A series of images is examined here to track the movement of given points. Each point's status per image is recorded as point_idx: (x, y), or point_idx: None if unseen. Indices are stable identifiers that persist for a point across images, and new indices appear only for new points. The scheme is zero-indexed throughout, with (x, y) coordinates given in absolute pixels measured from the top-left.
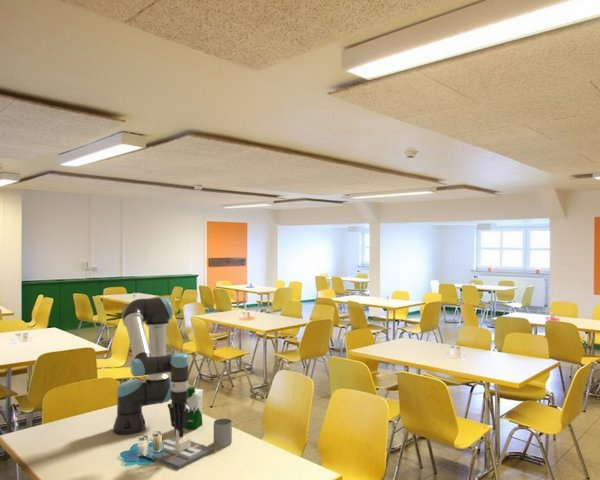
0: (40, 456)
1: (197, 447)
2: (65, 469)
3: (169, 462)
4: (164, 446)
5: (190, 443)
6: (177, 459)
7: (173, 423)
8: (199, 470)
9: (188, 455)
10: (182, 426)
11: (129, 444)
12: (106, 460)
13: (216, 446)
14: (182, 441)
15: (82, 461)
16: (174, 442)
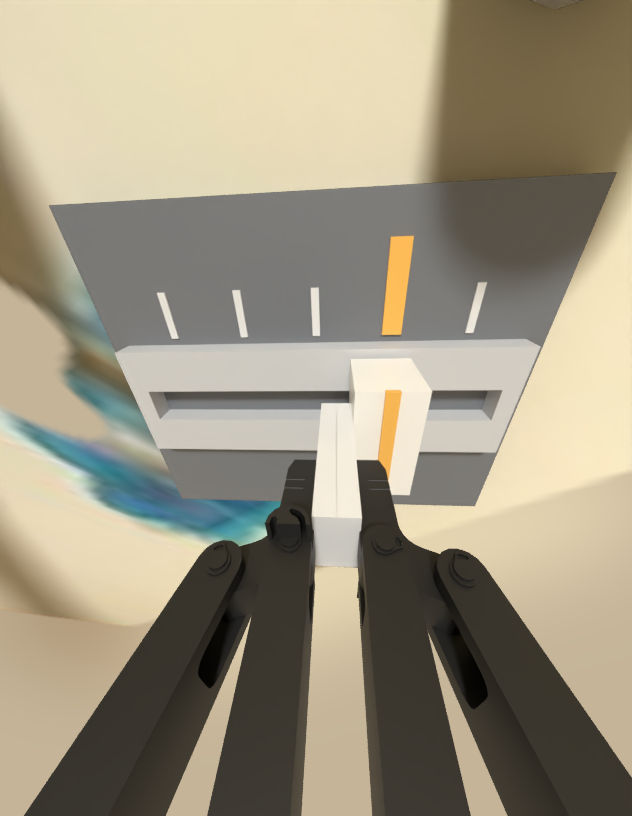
0: (7, 595)
1: (423, 270)
2: (141, 604)
3: (400, 503)
4: (232, 440)
5: (418, 370)
6: (416, 471)
7: (239, 636)
8: (587, 454)
9: (482, 448)
10: (461, 652)
11: (15, 445)
12: (149, 551)
13: (565, 4)
14: (399, 465)
15: (110, 576)
16: (218, 362)
